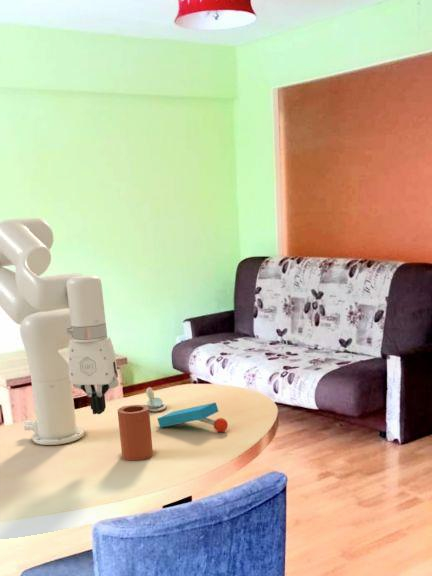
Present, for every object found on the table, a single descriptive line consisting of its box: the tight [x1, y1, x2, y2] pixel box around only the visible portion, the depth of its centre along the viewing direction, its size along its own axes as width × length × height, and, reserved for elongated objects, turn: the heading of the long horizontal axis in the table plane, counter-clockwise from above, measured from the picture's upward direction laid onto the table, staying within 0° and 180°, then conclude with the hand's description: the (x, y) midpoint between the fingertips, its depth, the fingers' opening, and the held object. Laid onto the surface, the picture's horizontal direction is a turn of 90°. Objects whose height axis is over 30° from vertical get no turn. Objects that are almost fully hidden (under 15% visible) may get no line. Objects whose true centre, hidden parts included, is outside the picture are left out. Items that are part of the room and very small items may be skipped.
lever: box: [157, 402, 229, 433], centre depth 185 cm, size 7×7×18 cm
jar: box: [117, 404, 154, 461], centre depth 167 cm, size 7×7×11 cm
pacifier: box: [144, 386, 167, 412], centre depth 203 cm, size 7×6×6 cm
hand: (98, 412), depth 167 cm, fingers closed
